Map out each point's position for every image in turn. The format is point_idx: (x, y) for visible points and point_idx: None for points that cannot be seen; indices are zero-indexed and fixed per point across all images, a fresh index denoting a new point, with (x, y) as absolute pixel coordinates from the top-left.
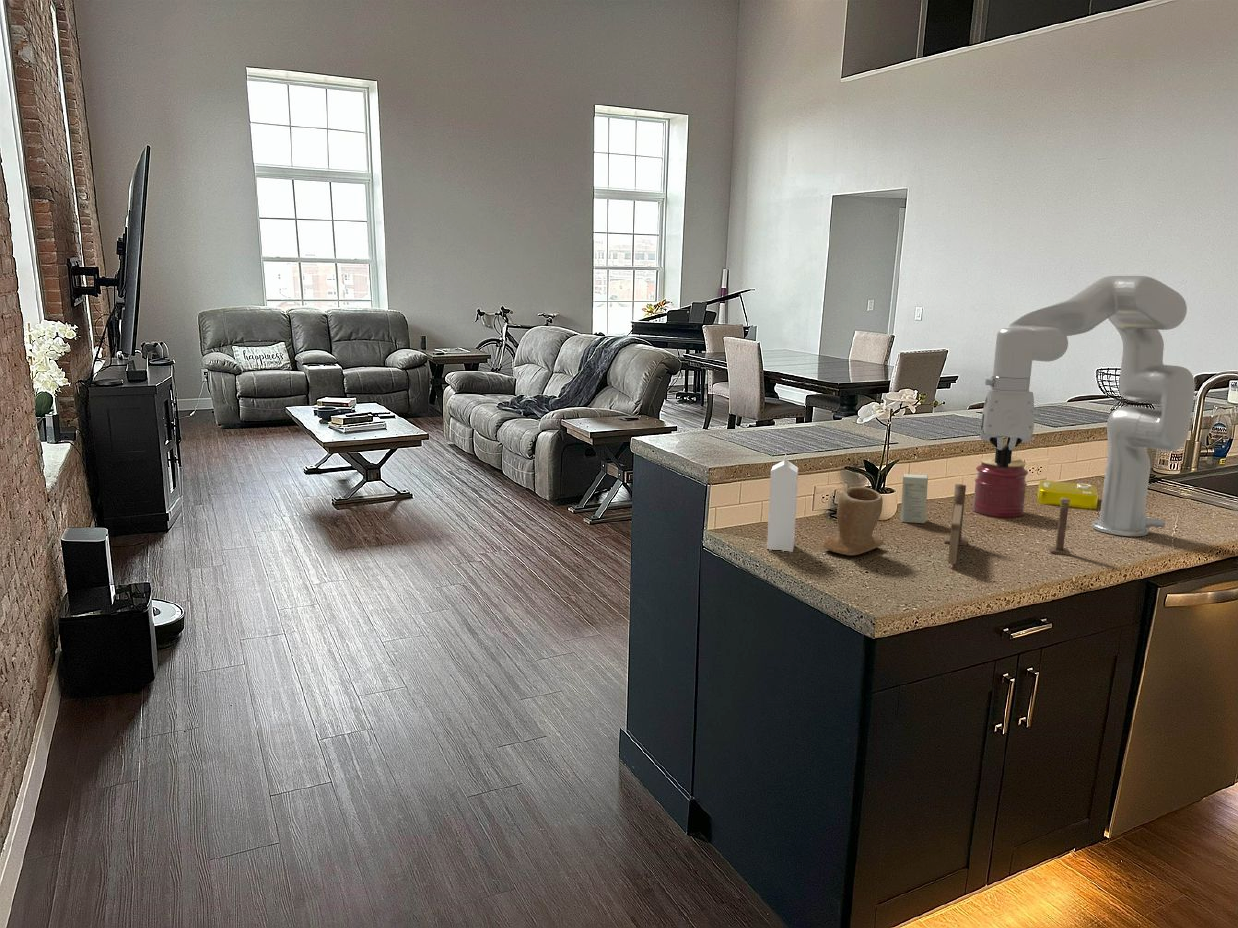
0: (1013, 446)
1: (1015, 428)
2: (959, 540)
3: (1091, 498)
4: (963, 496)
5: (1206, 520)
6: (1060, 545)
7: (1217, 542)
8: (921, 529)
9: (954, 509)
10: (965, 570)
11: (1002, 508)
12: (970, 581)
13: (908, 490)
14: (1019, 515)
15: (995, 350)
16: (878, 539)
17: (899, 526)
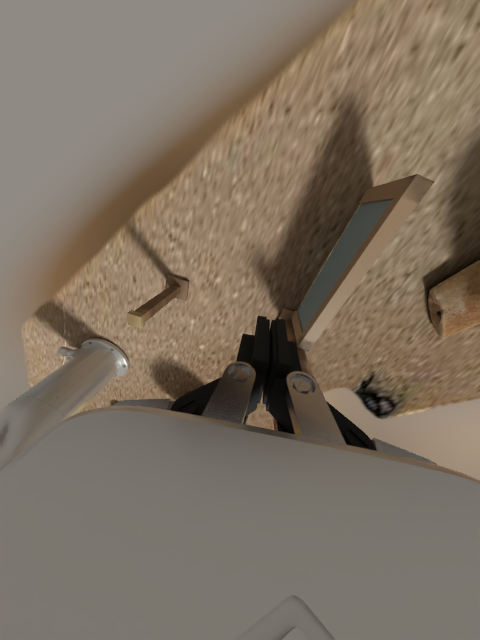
0: (229, 378)
1: (202, 569)
2: (288, 319)
3: None
4: None
5: (42, 376)
6: (173, 287)
7: (28, 323)
8: (309, 364)
9: (333, 316)
10: (350, 180)
11: None
12: (383, 97)
13: None
14: (187, 393)
15: None
16: (446, 292)
17: (330, 374)
